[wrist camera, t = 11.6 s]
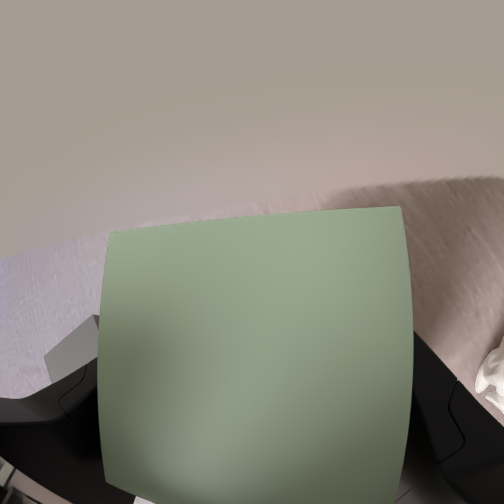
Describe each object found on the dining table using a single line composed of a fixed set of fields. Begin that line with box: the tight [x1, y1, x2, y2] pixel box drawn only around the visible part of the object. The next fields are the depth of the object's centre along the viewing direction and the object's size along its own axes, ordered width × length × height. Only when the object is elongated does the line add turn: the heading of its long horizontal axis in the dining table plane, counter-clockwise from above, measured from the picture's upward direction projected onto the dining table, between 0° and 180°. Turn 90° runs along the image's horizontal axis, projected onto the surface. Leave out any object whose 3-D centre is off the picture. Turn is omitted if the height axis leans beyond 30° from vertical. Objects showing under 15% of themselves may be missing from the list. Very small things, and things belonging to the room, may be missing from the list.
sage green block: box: [97, 206, 413, 504], centre depth 8 cm, size 6×6×7 cm
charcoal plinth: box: [44, 315, 99, 384], centre depth 21 cm, size 9×9×4 cm
